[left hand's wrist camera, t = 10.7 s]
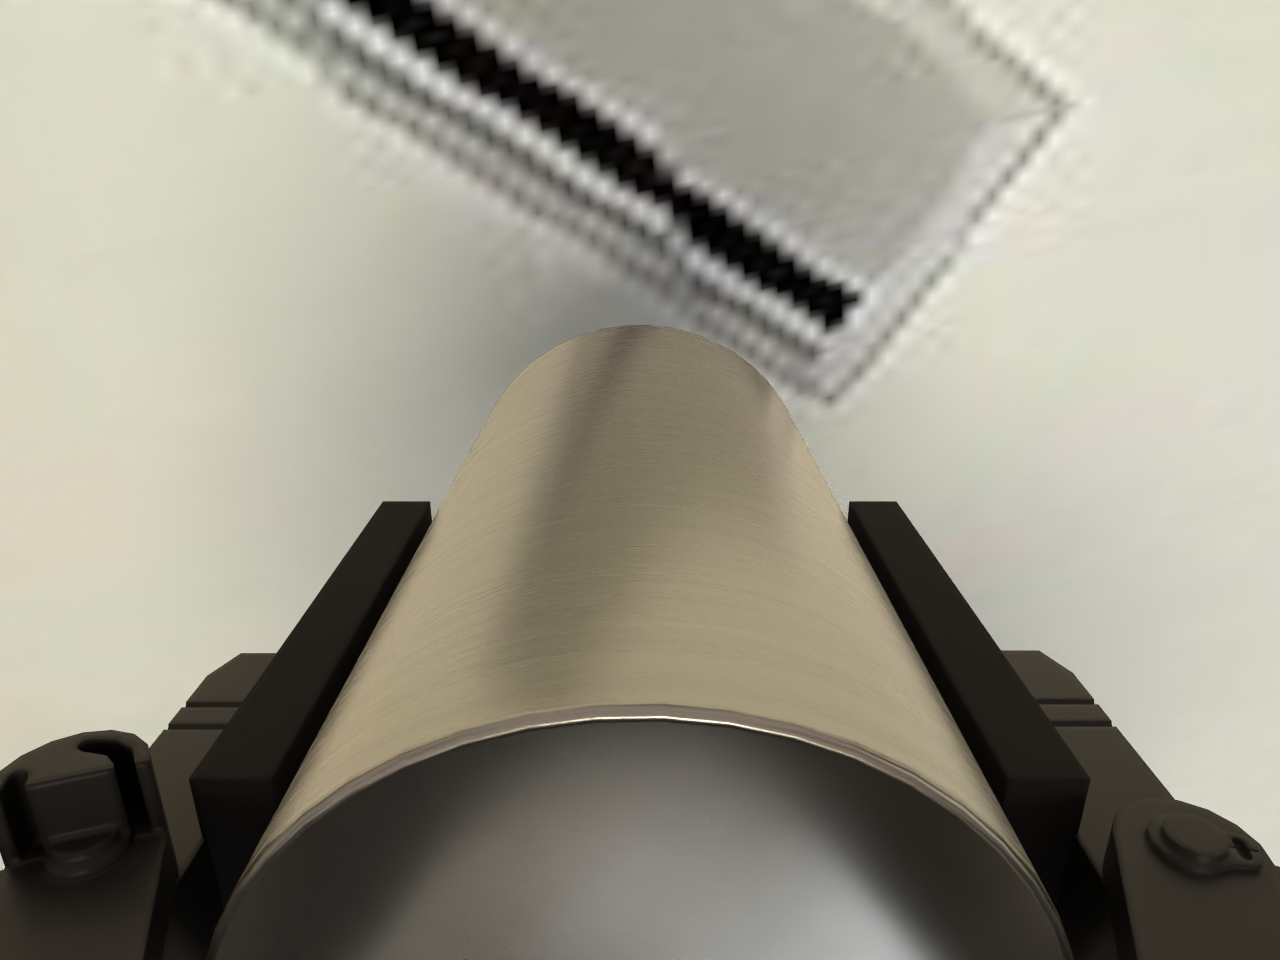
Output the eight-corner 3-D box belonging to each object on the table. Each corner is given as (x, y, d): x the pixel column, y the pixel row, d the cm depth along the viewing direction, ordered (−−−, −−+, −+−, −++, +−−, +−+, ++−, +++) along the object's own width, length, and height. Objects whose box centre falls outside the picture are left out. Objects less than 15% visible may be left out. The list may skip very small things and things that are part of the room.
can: (840, 356, 17) (1235, 791, 6) (762, 650, 19) (934, 1362, 8) (495, 296, 17) (187, 637, 5) (460, 604, 19) (196, 1288, 8)
